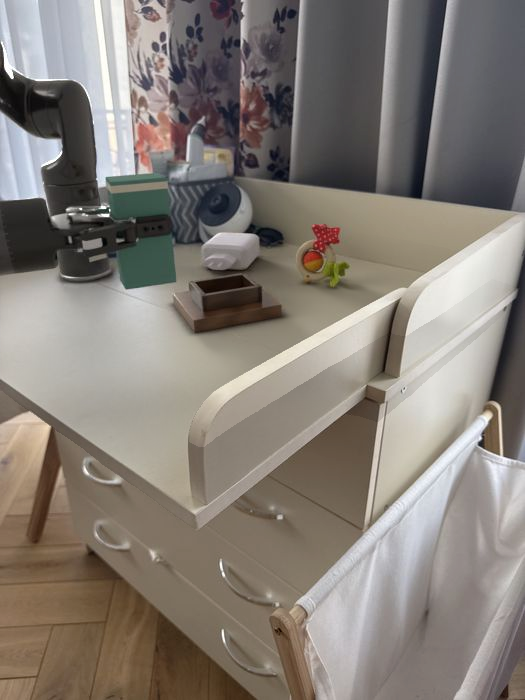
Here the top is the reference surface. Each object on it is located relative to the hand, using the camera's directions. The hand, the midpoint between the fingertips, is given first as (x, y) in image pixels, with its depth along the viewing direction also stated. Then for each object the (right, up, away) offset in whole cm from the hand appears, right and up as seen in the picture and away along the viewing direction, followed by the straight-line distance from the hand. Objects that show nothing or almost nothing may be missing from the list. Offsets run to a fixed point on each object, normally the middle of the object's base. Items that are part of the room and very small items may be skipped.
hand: (165, 220), depth 62 cm
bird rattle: (+22, -3, +35) cm, 41 cm away
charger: (+4, +1, +44) cm, 44 cm away
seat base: (+5, -9, +24) cm, 26 cm away
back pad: (-2, -7, +2) cm, 8 cm away
